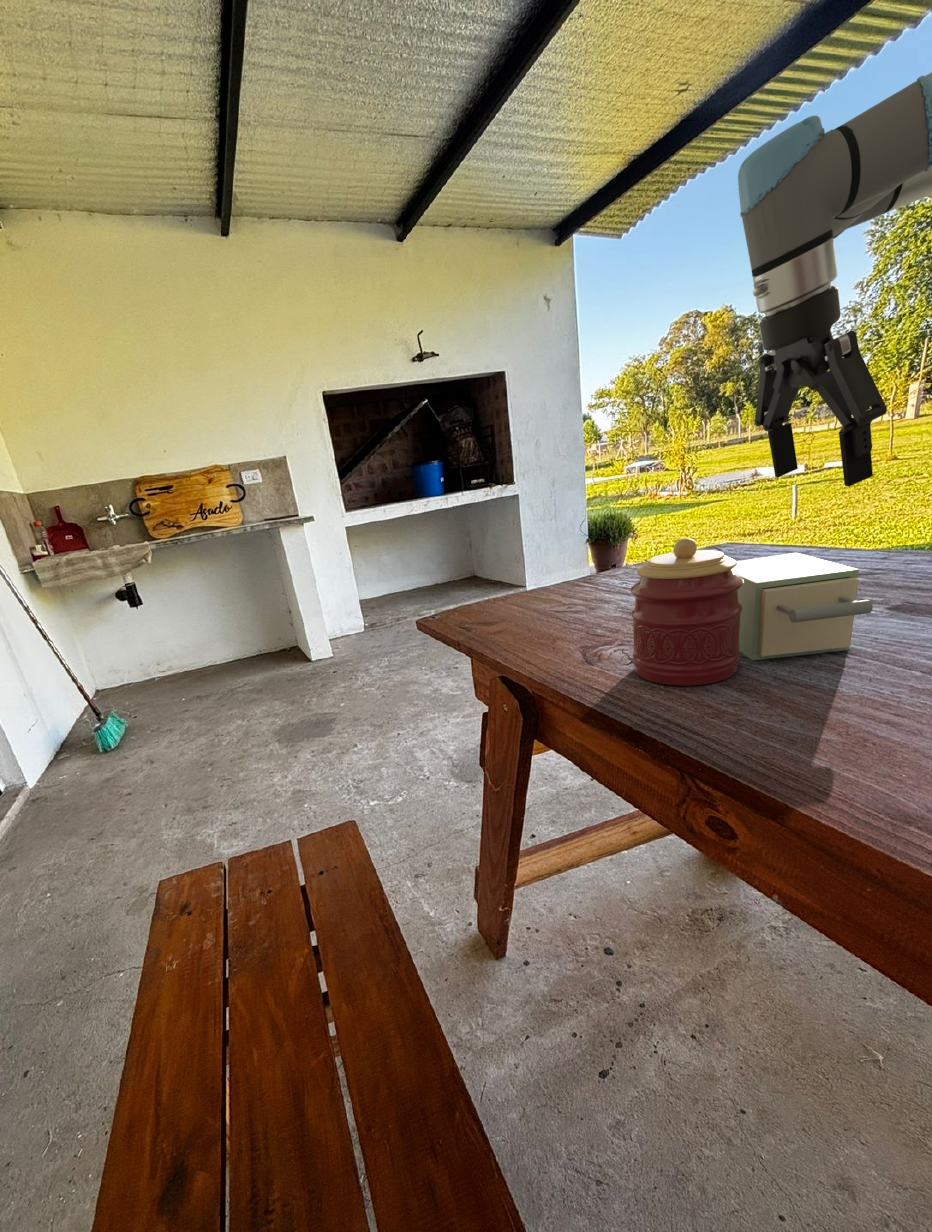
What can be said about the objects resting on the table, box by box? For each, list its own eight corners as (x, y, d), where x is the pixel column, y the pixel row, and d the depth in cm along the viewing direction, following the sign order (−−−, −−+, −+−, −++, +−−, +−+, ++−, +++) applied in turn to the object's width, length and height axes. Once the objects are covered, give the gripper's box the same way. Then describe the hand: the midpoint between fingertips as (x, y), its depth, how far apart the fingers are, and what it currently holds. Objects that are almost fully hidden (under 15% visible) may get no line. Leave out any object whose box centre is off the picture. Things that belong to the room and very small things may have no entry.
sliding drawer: (876, 659, 62) (887, 587, 59) (780, 670, 64) (786, 600, 61) (794, 619, 79) (799, 561, 76) (720, 628, 81) (722, 572, 78)
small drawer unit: (849, 650, 68) (859, 569, 65) (752, 660, 70) (756, 583, 67) (790, 620, 82) (796, 552, 78) (710, 630, 84) (712, 564, 80)
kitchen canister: (761, 665, 69) (770, 527, 62) (694, 696, 64) (697, 550, 58) (675, 647, 80) (675, 528, 74) (612, 672, 75) (607, 548, 69)
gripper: (709, 334, 73) (738, 481, 81) (841, 292, 50) (862, 500, 59) (764, 306, 71) (787, 458, 80) (925, 249, 49) (934, 469, 58)
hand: (819, 476), depth 69 cm, fingers open, 13 cm apart
